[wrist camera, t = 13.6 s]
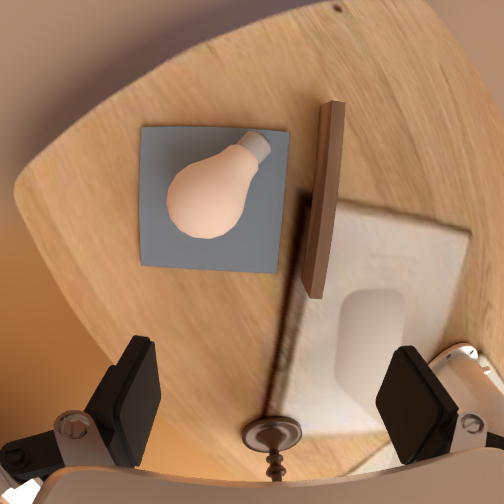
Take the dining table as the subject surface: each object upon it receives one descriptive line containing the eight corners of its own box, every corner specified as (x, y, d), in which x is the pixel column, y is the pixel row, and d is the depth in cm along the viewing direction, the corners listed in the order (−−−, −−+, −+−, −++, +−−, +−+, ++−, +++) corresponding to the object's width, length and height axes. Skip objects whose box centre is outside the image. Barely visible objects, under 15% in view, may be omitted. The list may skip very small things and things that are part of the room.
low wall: (331, 108, 26) (345, 102, 22) (312, 281, 32) (321, 298, 28) (320, 107, 26) (332, 100, 22) (301, 281, 32) (309, 298, 28)
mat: (288, 132, 27) (289, 132, 26) (275, 271, 31) (276, 273, 31) (143, 127, 26) (141, 127, 25) (142, 263, 30) (141, 265, 30)
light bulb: (252, 102, 21) (151, 208, 20) (306, 161, 24) (217, 264, 23) (227, 117, 27) (148, 201, 26) (272, 163, 30) (200, 245, 29)
